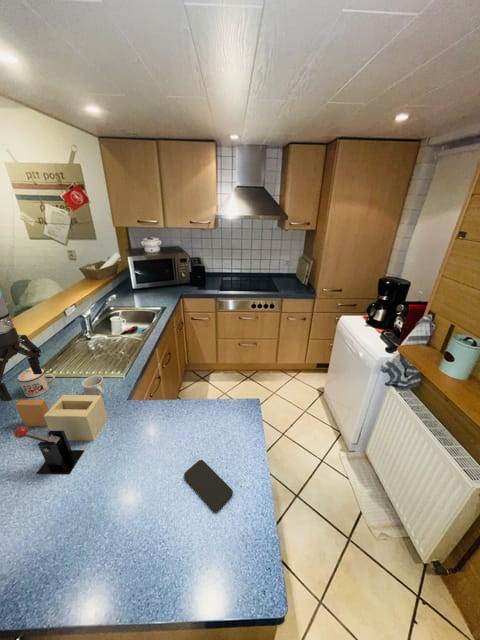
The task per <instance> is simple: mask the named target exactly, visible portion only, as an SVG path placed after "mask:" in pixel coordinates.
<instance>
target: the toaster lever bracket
mask: <svg viewBox="0 0 480 640" xmlns="http://www.w3.org/2000/svg"><path fill="white" fill-rule="evenodd" d="M47 435H48V437H50V436H51V435H54V436H57V437H60V438H61V439H60V442H59V444H58V445H56V443H55V442H43V441H39V442H38V444H37V446H38V449H39V450H40V452H41V454H42V456H43V458H44V462H43V464H42V465H41V466H40V468H39V469H38V471H36V472H35V473H36V475H71V474H72V471H73V470H74V468H75V467H76V465H77V463H78V462H79V460H80V459H81V457H82V456H83V455H84V453H85V449H72V447H71V445H70V442H69V440H67V437H66V435H65V432H64V431H50V430H48V432H47Z"/></svg>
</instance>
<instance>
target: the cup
mask: <svg viewBox="0 0 480 640" xmlns="http://www.w3.org/2000/svg"><path fill="white" fill-rule="evenodd" d="M81 387H82V390H83V391H84V395H102V398H104V397H105V394H106V389H105V381H104V377H103V376H102V375H99V374H98V375H97V374H96V375H91V376H88V377H86V378H85V379H83V381H82V382H81Z"/></svg>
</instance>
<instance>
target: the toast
mask: <svg viewBox="0 0 480 640" xmlns="http://www.w3.org/2000/svg"><path fill="white" fill-rule="evenodd" d="M14 407H15V409H16V411H17V413H18V415H19V417H20V419H21V421H22V423H23V426H25V427H48V425H47V423H46V421H45V418H44V415H45V414H46V413H47V412H48V411H49V409H50V408H49V406H48V403H47V401H46V399H19V400H18V401H17V402H16V403H15V404H14Z"/></svg>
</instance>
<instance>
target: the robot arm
mask: <svg viewBox="0 0 480 640" xmlns="http://www.w3.org/2000/svg"><path fill="white" fill-rule="evenodd" d="M20 344H21V345H22V346H23V347H22V346H21V345H20ZM41 353H42V350H41V349H40V348H39V347H38V346H37V345H35V344H34V342H32V341H31V340H30V339H29V338H28V336H27V335H26V334H19V333H18V331H17V328H16V327H15V324H14V322H13V319H12V316H11V313H10V311H9V309H8V306H7V304H6V301H5V299H4V296H3V292H2V291H1V290H0V401H1V402H11V401H12V400H13V399H12V397H11V395H10V392H9V391H8V387H7V386H6V384H5V382H2V381H3V377H4V373H5V369H6V365H7V364H8V363H9V360H10V359H12V358H13V357H14V356H16V355H18V354H20V355H21V356H22V355H23V356H24V357H25V356H26V357H28V358H27V362H28V364H29V366H30V368H31V369H32V371H33V374H42V370H41V362H40V359H39V358H41Z"/></svg>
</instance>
